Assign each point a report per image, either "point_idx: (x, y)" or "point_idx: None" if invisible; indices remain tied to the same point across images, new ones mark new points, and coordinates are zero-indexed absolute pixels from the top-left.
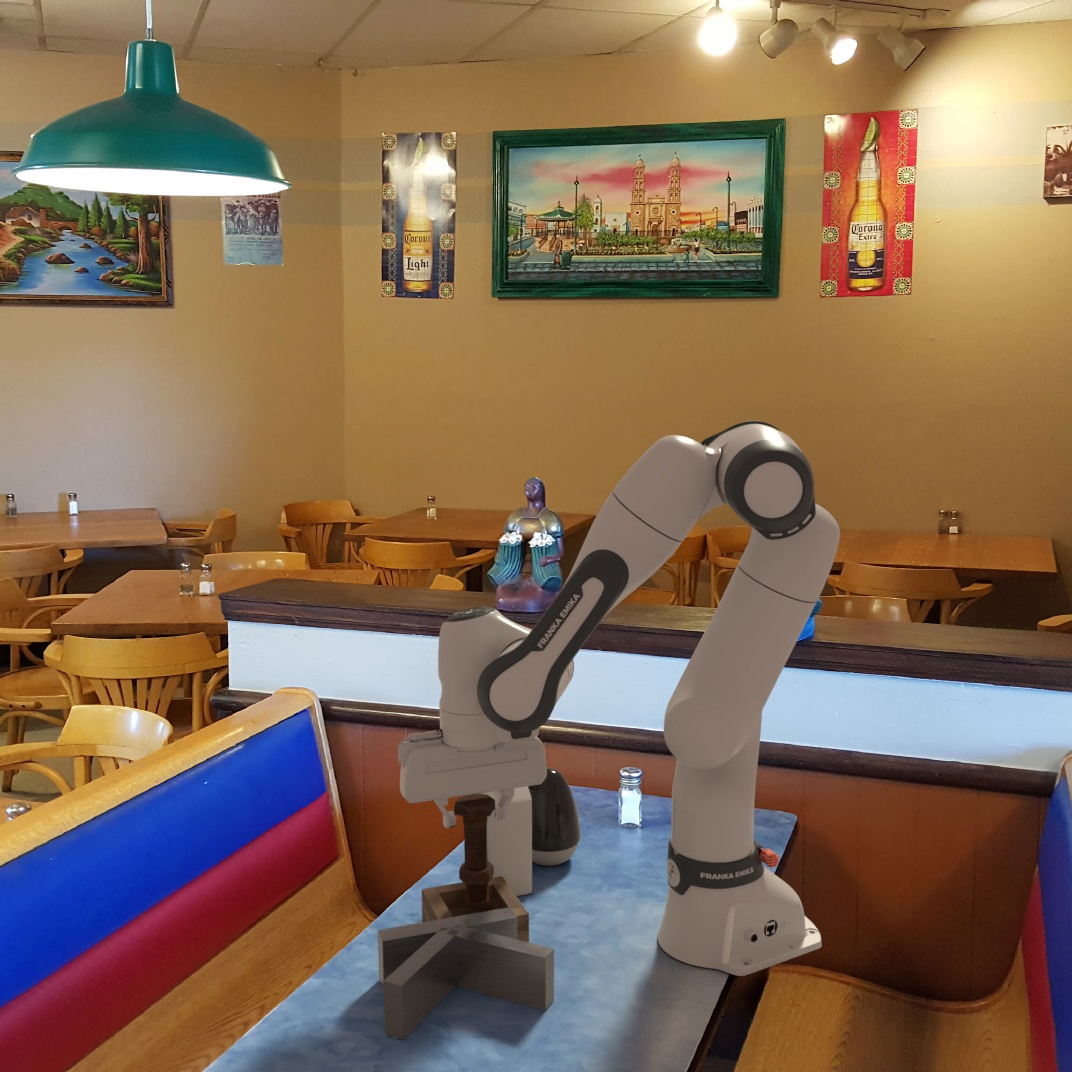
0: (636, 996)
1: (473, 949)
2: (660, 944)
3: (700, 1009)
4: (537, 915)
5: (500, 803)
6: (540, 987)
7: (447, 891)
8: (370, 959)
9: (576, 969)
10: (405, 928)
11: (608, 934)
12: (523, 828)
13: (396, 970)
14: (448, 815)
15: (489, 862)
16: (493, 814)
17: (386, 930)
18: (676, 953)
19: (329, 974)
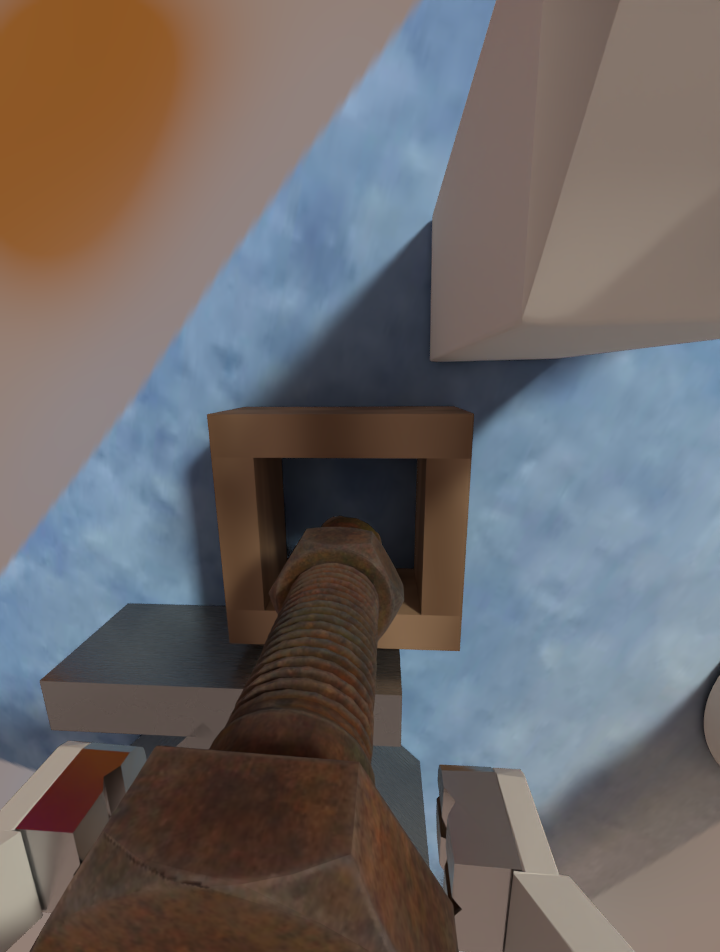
0: (561, 797)
1: None
2: (712, 695)
3: (640, 858)
4: (523, 472)
5: (522, 925)
6: None
7: (280, 456)
8: (115, 526)
9: (502, 695)
10: (108, 698)
11: (635, 606)
12: (680, 340)
13: None
14: (19, 924)
15: (391, 596)
16: (440, 783)
17: (61, 690)
18: (717, 748)
19: (35, 551)
